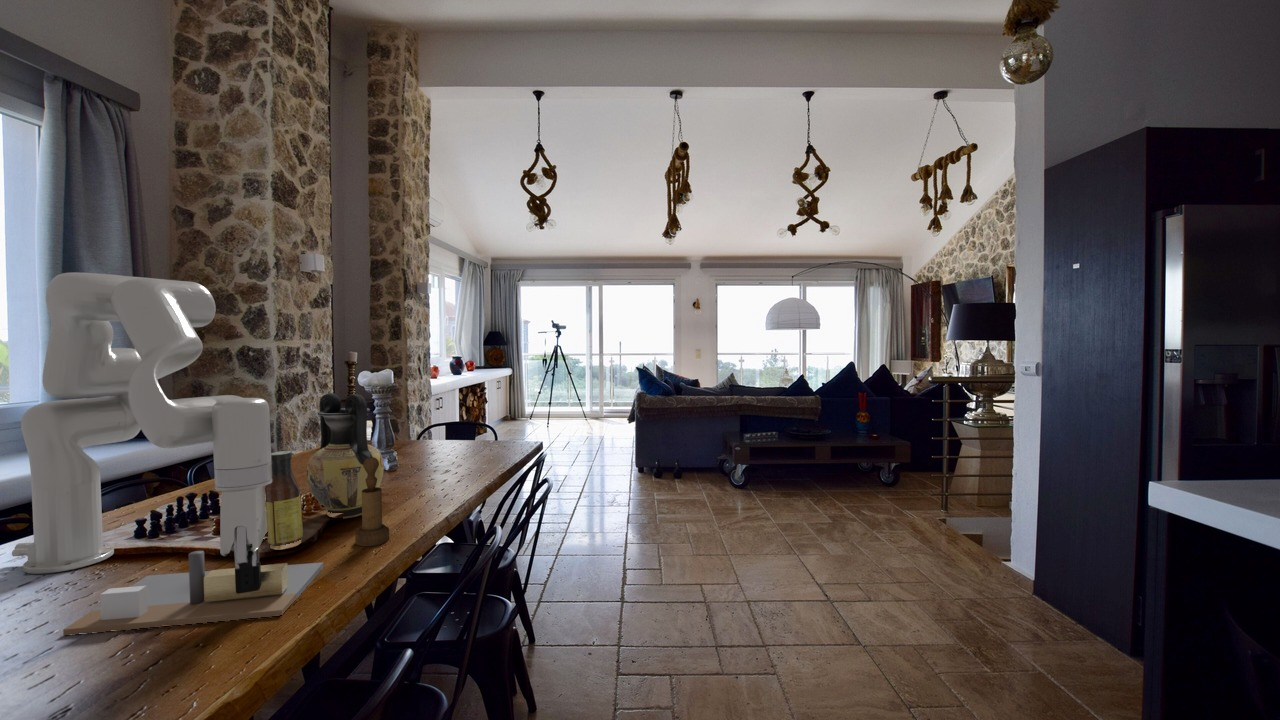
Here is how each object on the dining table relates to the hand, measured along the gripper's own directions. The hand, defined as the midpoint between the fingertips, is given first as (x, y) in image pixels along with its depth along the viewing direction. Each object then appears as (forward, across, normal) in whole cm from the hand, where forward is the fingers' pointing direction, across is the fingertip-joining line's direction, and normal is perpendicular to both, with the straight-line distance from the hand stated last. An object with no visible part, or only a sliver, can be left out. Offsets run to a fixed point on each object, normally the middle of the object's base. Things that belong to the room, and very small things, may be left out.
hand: (248, 589), depth 92 cm
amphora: (+3, -50, +13) cm, 52 cm away
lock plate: (+3, -9, -7) cm, 11 cm away
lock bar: (+2, -4, -1) cm, 4 cm away
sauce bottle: (+3, -30, +2) cm, 31 cm away
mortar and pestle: (+4, -26, +18) cm, 32 cm away
